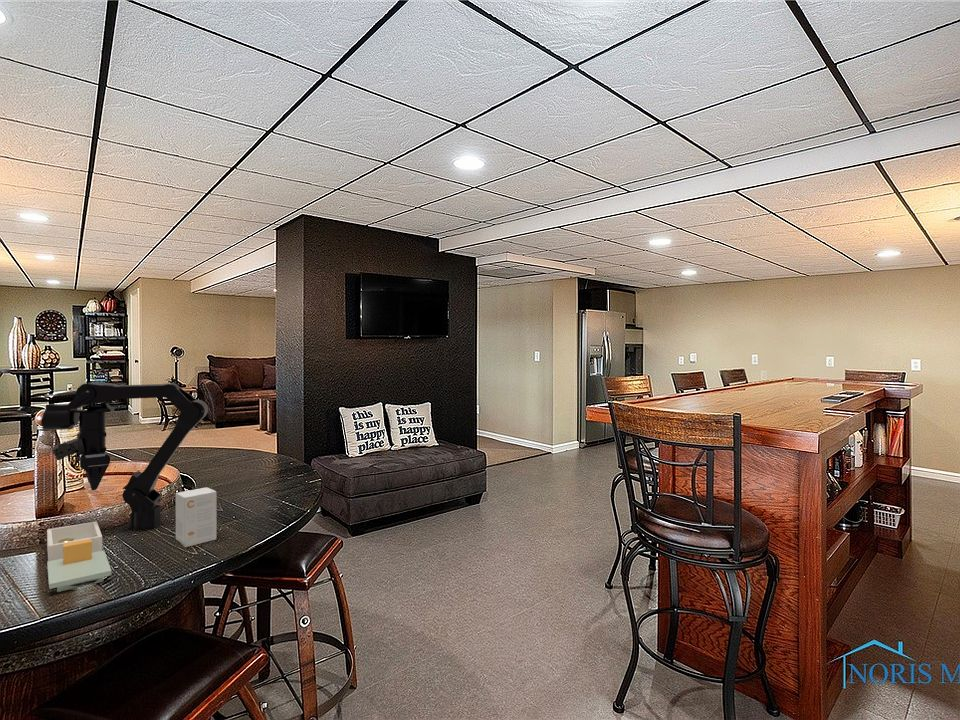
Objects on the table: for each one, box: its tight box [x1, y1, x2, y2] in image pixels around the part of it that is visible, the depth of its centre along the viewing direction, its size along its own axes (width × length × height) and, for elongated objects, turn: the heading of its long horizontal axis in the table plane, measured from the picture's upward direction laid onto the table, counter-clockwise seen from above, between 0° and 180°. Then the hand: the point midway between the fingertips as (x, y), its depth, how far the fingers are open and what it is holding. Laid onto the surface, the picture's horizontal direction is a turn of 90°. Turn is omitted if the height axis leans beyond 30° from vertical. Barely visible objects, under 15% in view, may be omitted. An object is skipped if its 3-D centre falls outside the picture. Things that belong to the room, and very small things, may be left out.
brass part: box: [58, 538, 74, 543], centre depth 129 cm, size 3×3×2 cm
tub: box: [46, 520, 103, 562], centre depth 128 cm, size 14×10×5 cm
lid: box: [46, 539, 112, 593], centre depth 115 cm, size 14×10×6 cm
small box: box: [175, 487, 218, 548], centre depth 137 cm, size 8×6×13 cm
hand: (92, 486), depth 140 cm, fingers open, 9 cm apart
